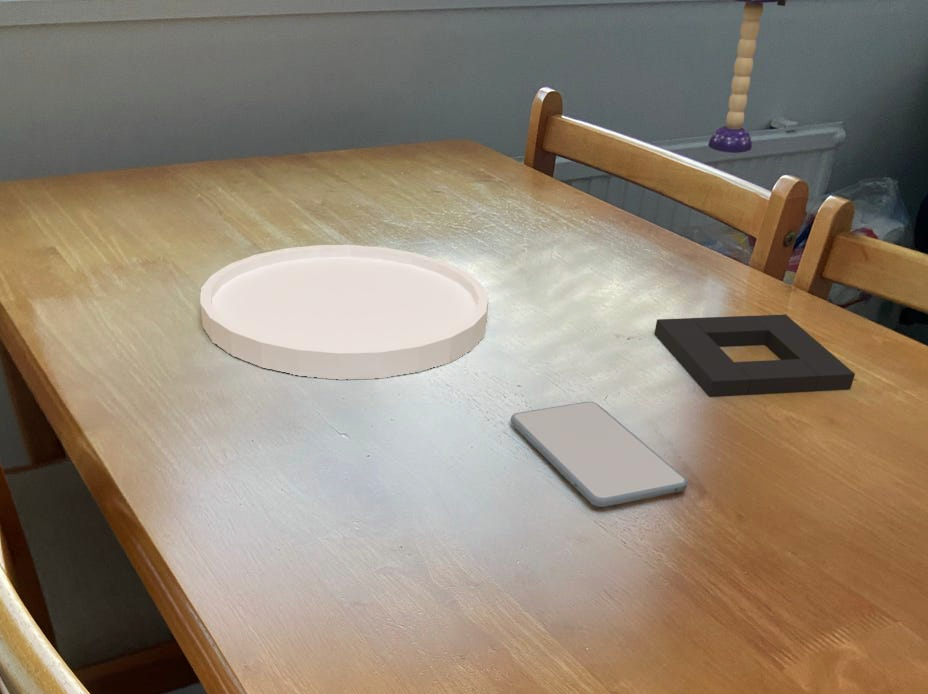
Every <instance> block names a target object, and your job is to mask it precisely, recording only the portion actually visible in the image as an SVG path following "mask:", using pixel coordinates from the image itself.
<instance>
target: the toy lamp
mask: <svg viewBox="0 0 928 694" xmlns="http://www.w3.org/2000/svg"><path fill="white" fill-rule="evenodd" d="M734 1H737V2H743V3H744V6H743V10H742V13H743V14H742V15H743V21H742V22H741V24H740V29H739V34H740V35H739V36H740V39H739V41H738V43H737V47H736V52H737V57H736V59H735V61H734V66H733V73H734V76H733V77H732V80H731V86H730V87H731V89H730V90H731V94H730V96H729V99H728V112H727V115H726V119H725V124H726V125H724V126H722V127H720V128H718V129H716V130H715V131H714V132H713V134H712V135H711V136H710V139H709V141H708V144H707V145H708V147H709V148H710V149H712V150H714V151H717V152H722V153H731V154H738V153H739V154H740V153H747V152H749V151H751V150H752V145H753V144H752V137H751V135H750V133H749V132H748V130H746V129H745V128H743V127H742V126H743V124H744V123H745V122H744V121H745V112H744V111H745V109H746V108H747V103H748V94H747V93H748V92H749V89H750V86H751V76H750V75H751V74H752V72H753V69H754V58H753V57H754V55H755V53H756V51H757V50H756V49H757V40H756V39H757V37H758V35H759V32H760V28H761V27H760V26H761V25H760V23H761V22H760V19H761V17H762V15H763V11H764V4H767V3H777V1H778V0H734Z"/></svg>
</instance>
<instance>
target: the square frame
mask: <svg viewBox="0 0 928 694" xmlns="http://www.w3.org/2000/svg"><path fill="white" fill-rule="evenodd" d="M654 336H655V337H656V339H658V341H659V342H660V343H661V344H662V345H663V347H665V348H666V350H667V351H668V352H669V353H670V354H671V356H673V357H674V359H675V360H676V361H677V362H678V363H679V365H681V367H682V368H683V369H684V370H685V371H686V372H687V374H688V375H689V376H690V377H691V378H692V379H693V380H694V382H695V383H696V384H697V385H698V387H700V388H701V389H702V391H703V392H704V393H705V394H706V395H707V396H708V397H709V398H717V397H718V398H720V397H721V398H722V397H738V396H756V395H757V396H758V395H775V394H793V393H794V394H795V393H813V392H831V391H849V390H851V388H852V385H853V382H854V379H855V376H856V373H855V372H853V370H851V369H850V368H849V366H847V365H846V364H844V363H843V362H842V361H841V360H840V359H838V358H837V357H836V356H835V355H834V354H833V353H831V351H829V350H828V349H827V348H826V347H824V345H822V344H821V342H820V341H819V342H818V341H817V340H816V339H815V338H814V336H811V334H809V333H808V332H807V331H806V330H804V328H802V326H800V325H799V324H798V323H797V322H795V321H794V320H793V319H792V318H791V317H790V316H789V315H787V314H766V315H765V314H763V315H761V314H759V315H736V316H735V315H734V316H709V317H708V316H707V317H705V316H704V317H685V318H684V317H682V318H659V319H656V323H655V327H654ZM752 346H765V347H766V348H767V349H768V350H769V351H771V353H773V354H774V355H775V356H776V357H777V358H778V359H772V360H771V359H770V360H750V361H734V360H733V359H732V358H731V357H730V356H729V355H727V353H726V352H725V351H724V350H723V349H722V348H728V347H729V348H730V347H731V348H733V347H752Z"/></svg>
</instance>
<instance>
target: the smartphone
mask: <svg viewBox="0 0 928 694" xmlns="http://www.w3.org/2000/svg"><path fill="white" fill-rule="evenodd" d="M510 424H511V425H512V426H513V427H514V428H515V429H516V431H518V432H519V433H520V434H521V435H522V436H523V437H524V438H525V439H526V440H527V441H528V442H529V443H530V444H531V445H532V446H533V447H534V448H535V449H536V450H537V451H538V452H539V453H540V454H541V456H543V457H544V458H545V459H546V460H547V461H548V462H549V463H550V464H551V466H553V467H554V468H555V469H556V470H557V471H558V472H559V473H560V474H561V475H562V476H563V478H565V479H566V480H567V481H568V482H569V483H570V484H571V485H572V486H573V487H574V488H575V489H576V490H577V491H578V492H579V493H580V494H581V495H582V496H583V497H584V498H585V499H587V501H588V502H589V503H590V504H591V505H593V506H595V507H599V508H600V507H601V508H605V507H611V506H616V505H621V504H626V503H630V502H635V501H640V500H645V499H650V498H657V497H661V496H666V495H671V494H676V493H679V492H681V493H682V492H683V491H685V490H686V489H687V487H688V480H687V478H686V477H685V476H683V475H682V474H681V473H680V471H678V470H676V469H675V468H674V467H673V466H672V465H670V464H669V462H667V461H666V460H665V459H663V458H662V457H661V456H660V455H659V454H658V453H656V451H654V450H653V449H651V448H650V447H649V446H648V445H647V444H646V443H645V442H643V441H642V440H641V439H640V438H639V437H638V436H636V435H635V434H634V433H633V432H632V431H631V430H629V429H628V428H627V427H625V425H624V424H622V423H621V422H620V421H618V419H616V418H615V417H614V416H613V415H611V414H610V413H609V412H608V411H606V410H605V409H604V408H603V407H602V406H601V405H600V404H598V403H596V402H594V401H584V402H578V403H577V402H575V403H570V404H564V405H558V406H551V407H546V408H539V409H538V408H537V409H533V410H527V411H521V412H520V411H519V412H516V413H513V414H512V415H511V416H510Z"/></svg>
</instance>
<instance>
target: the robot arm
mask: <svg viewBox="0 0 928 694" xmlns="http://www.w3.org/2000/svg"><path fill="white" fill-rule="evenodd" d="M787 3H788V0H778V1H777V2H776V6H780V7H786V6H787Z"/></svg>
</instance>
